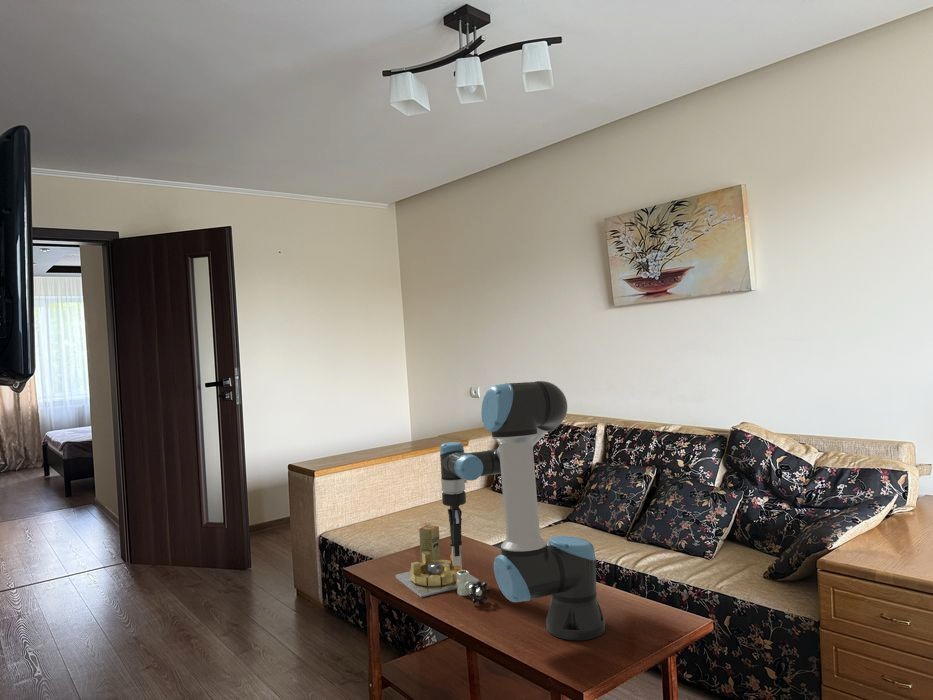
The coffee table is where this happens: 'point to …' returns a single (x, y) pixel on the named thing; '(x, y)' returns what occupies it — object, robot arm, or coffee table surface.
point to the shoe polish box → (430, 541)
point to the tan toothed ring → (433, 580)
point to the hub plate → (429, 590)
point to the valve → (470, 587)
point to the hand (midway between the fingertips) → (457, 565)
